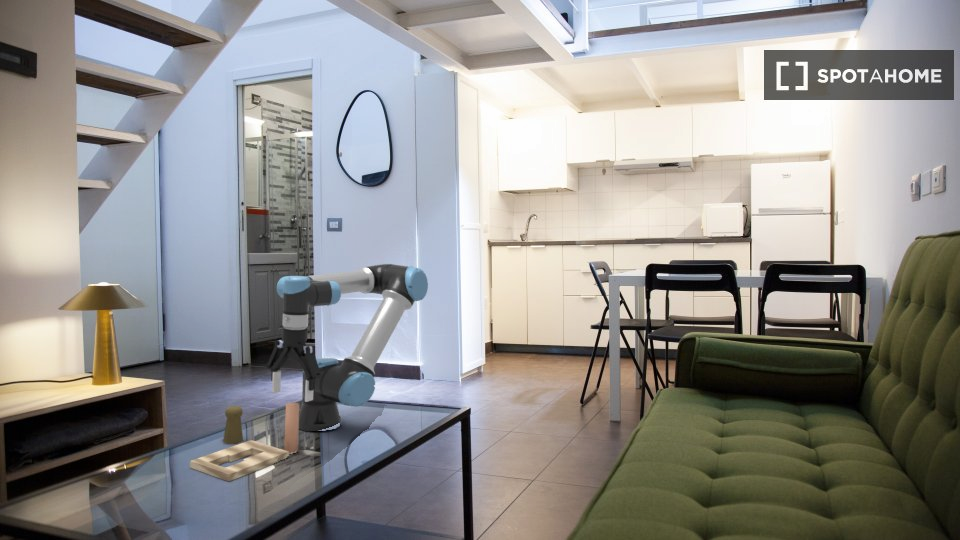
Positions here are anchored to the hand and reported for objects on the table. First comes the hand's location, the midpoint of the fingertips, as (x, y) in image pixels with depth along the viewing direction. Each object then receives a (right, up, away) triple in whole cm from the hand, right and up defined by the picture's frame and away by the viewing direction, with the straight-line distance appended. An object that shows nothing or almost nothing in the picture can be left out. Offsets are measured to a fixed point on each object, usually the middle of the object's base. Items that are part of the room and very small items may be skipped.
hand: (292, 396), depth 208 cm
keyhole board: (-13, -18, -9) cm, 23 cm away
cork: (-21, -16, +9) cm, 28 cm away
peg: (-1, -17, +2) cm, 18 cm away
